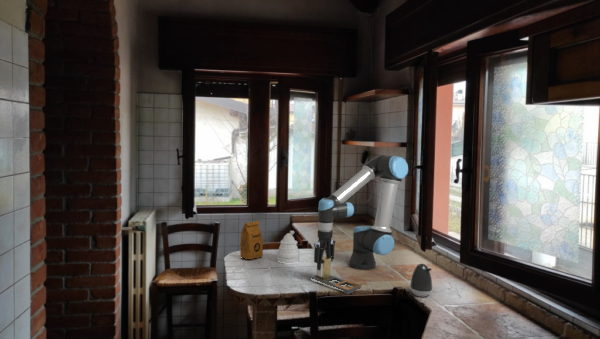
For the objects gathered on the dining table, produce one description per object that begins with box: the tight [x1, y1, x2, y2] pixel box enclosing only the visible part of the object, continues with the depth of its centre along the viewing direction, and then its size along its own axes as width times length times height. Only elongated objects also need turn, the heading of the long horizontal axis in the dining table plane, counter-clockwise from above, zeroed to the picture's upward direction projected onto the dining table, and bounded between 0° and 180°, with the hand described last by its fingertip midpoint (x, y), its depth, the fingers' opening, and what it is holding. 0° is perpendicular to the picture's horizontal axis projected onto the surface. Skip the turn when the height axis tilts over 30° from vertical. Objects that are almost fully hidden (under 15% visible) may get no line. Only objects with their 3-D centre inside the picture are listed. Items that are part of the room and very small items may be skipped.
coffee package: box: [240, 220, 264, 260], centre depth 274 cm, size 10×12×22 cm
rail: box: [310, 274, 362, 295], centre depth 232 cm, size 10×25×2 cm, turn 43°
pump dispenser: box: [409, 263, 433, 298], centre depth 221 cm, size 10×10×15 cm
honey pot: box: [276, 230, 300, 263], centre depth 270 cm, size 13×13×18 cm
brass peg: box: [316, 255, 332, 280], centre depth 237 cm, size 5×5×12 cm
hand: (323, 274), depth 238 cm, fingers closed on brass peg, 5 cm apart
